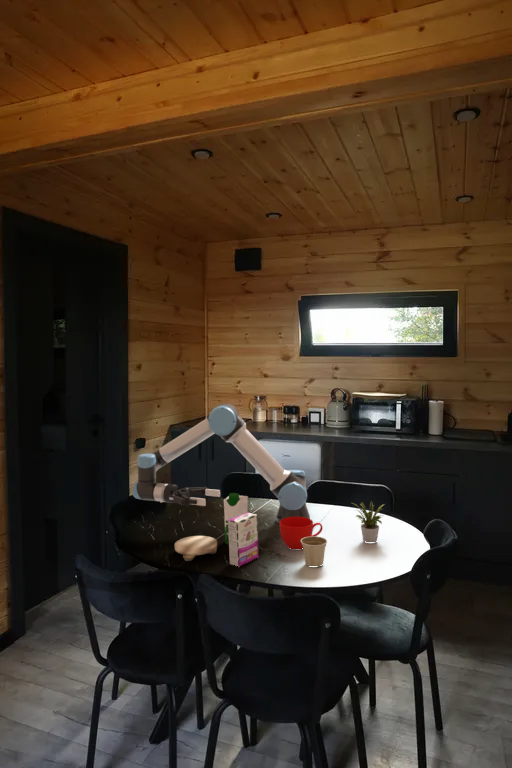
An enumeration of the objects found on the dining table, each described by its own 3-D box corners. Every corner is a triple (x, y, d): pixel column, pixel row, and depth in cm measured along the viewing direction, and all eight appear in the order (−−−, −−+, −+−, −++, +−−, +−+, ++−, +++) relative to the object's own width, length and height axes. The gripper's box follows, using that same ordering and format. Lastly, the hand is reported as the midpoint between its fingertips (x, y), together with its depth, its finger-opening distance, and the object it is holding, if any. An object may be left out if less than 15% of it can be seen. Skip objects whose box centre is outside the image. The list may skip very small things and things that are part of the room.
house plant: (345, 545, 204) (344, 504, 203) (352, 533, 217) (351, 495, 216) (382, 550, 199) (382, 507, 198) (387, 537, 211) (387, 497, 210)
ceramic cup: (327, 551, 199) (327, 525, 198) (283, 554, 196) (283, 528, 195) (317, 539, 211) (317, 514, 211) (276, 542, 209) (276, 517, 208)
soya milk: (222, 544, 207) (221, 495, 206) (231, 537, 216) (229, 489, 215) (243, 547, 205) (242, 496, 203) (251, 539, 213) (250, 490, 212)
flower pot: (299, 560, 191) (298, 536, 190) (324, 558, 192) (324, 535, 191) (303, 570, 181) (303, 546, 181) (330, 569, 182) (329, 544, 182)
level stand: (224, 548, 204) (223, 538, 203) (205, 564, 189) (205, 553, 188) (187, 543, 209) (187, 533, 209) (167, 558, 194) (166, 548, 194)
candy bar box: (248, 554, 197) (248, 511, 196) (259, 557, 193) (258, 514, 192) (228, 564, 188) (227, 519, 187) (238, 567, 185) (237, 522, 184)
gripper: (181, 494, 232) (225, 498, 225) (151, 510, 209) (198, 515, 201) (181, 477, 232) (225, 481, 224) (150, 491, 209) (198, 496, 201)
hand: (212, 497), depth 213 cm, fingers open, 13 cm apart
